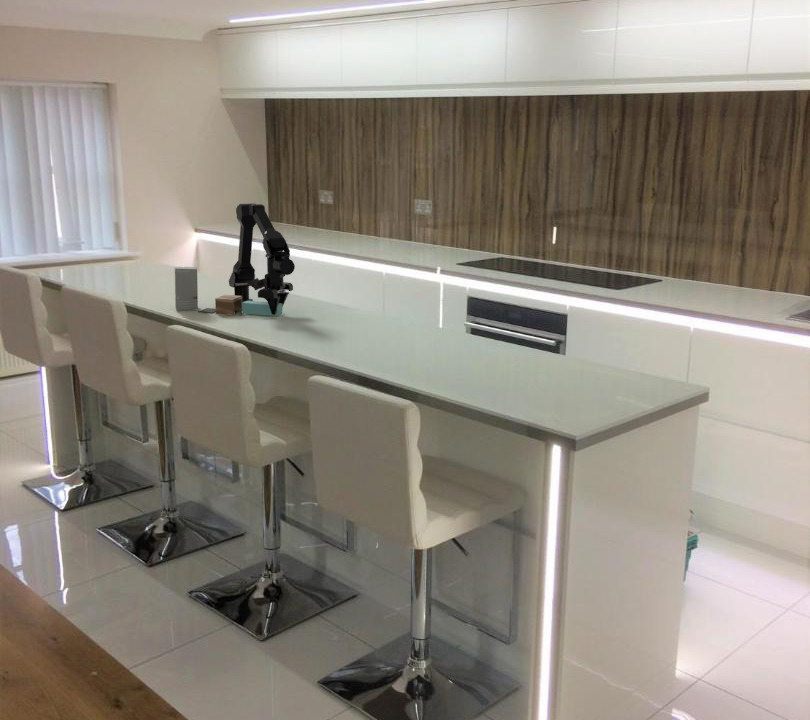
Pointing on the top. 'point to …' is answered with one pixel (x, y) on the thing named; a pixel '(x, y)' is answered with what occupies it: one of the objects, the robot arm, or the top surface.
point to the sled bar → (259, 308)
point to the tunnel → (228, 304)
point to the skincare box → (186, 288)
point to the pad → (262, 316)
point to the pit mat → (208, 310)
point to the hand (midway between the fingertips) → (276, 313)
